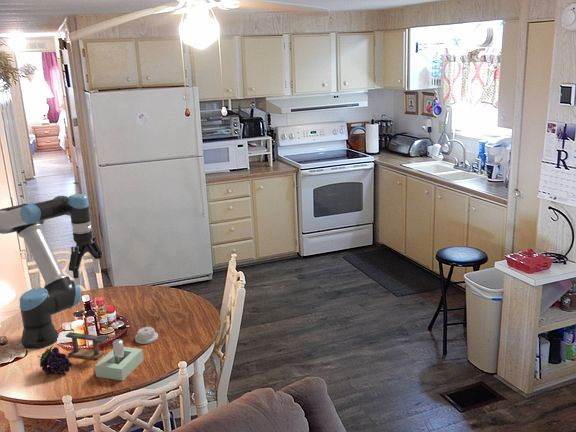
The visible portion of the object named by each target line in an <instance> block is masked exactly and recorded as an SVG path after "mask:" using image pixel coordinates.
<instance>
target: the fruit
mask: <svg viewBox="0 0 576 432" xmlns="http://www.w3.org/2000/svg"><path fill="white" fill-rule="evenodd" d="M37 357H38V358H40V361H39V362H40V363H39V368H41V370H42V372H44V373H46V374H49V373H51V372H54V373H55V374H61V375H63V374H64V373H69V372H70V370H71V369H70V367H72V365H73V364H72V362H70V359H69V357H67V354H66V353H61V352H60V350H59V348H58V347H56V346H55V347H53V346H50V347H48V348H46V349H45V351H44V352H43V353H42V354H41V356H39V355H37Z"/></svg>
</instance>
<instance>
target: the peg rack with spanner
mask: <svg viewBox="0 0 576 432" xmlns="http://www.w3.org/2000/svg"><path fill="white" fill-rule="evenodd" d="M65 338H70V339H71V343H72V350H71V351H70V352H69V353H68V356H69V357H74V358H83V359H90V360H95V361H98V360H99V359H100V358H101V357H103V356H104V354H105V351H102V350H100V348H99V344H104V343H105V342H106V341H107V340H108V339H110V336H109V335H105V334H101V335H94V334H87V333H86V334H85V333H78V332H71V331H70V332H68V333H67V334H65ZM78 340H84V341H92V348H93V349H88V348H87V349H86V348H79V344H78Z"/></svg>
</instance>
